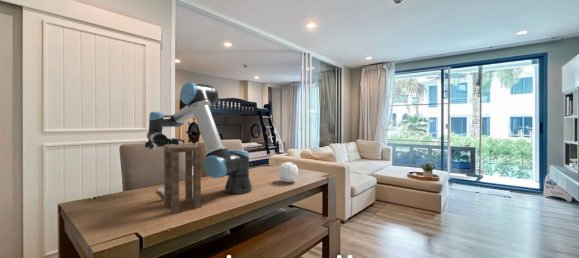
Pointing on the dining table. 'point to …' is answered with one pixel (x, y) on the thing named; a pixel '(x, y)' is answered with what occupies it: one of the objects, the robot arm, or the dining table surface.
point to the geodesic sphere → (288, 172)
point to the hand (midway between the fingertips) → (169, 146)
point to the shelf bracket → (161, 190)
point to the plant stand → (173, 175)
